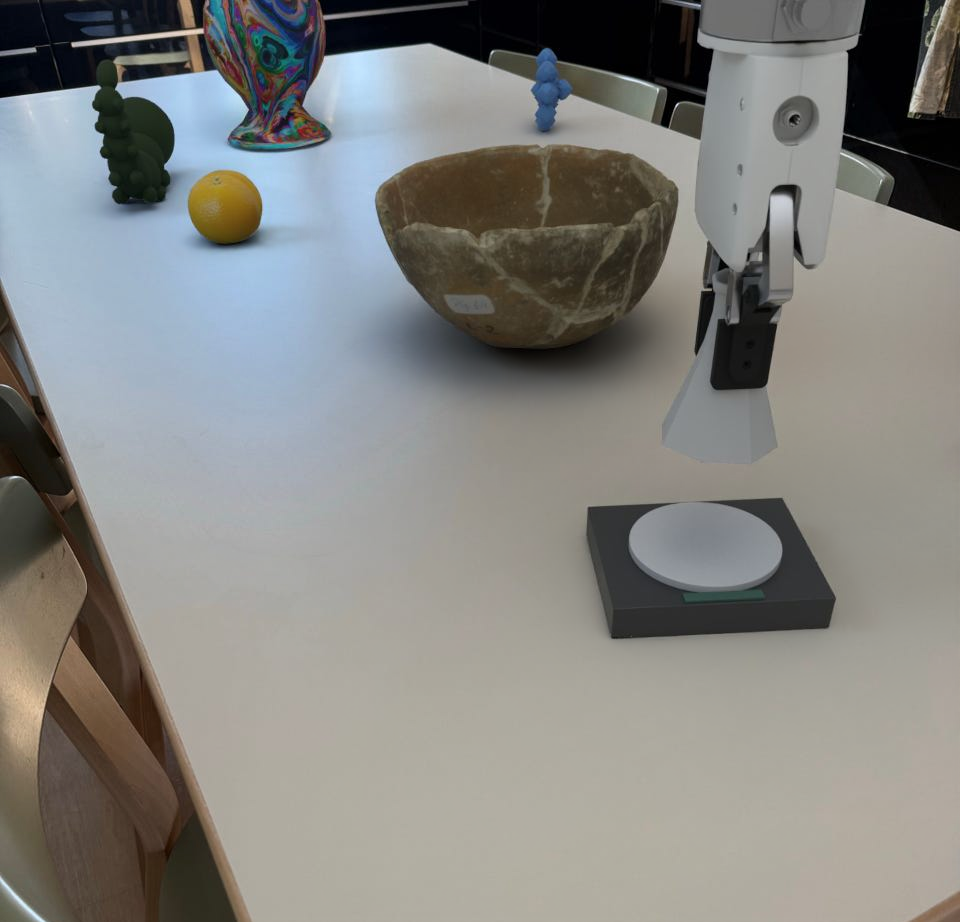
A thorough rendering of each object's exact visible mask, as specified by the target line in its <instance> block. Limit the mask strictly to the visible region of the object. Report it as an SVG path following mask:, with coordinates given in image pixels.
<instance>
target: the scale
mask: <svg viewBox="0 0 960 922" xmlns="http://www.w3.org/2000/svg"><path fill="white" fill-rule="evenodd" d="M586 513H587V514H586V531H585V534H586V539H587V544H588V548H589V553H590V556H591V560H592V565H593V569H594V573H595V576H596V581H597V585H598V589H599V594H600V598H601V601H602V605H603V610H604V615H605V618H606V622H608V623H607V626H608V630H609V635H610V634H611V635H610V638H611V637H618V638H617V639H621V638H620V637H629V638H645V637H644V636H649V637H666V636H667V635H669V636H686V635H706V634H707V635H708V634H725V633H726V634H727V632H728V633H745V632H746V633H747V632H748V633H749V632H767V631H786V630H787V631H788V630H801V629H802V630H803V629H805V630H808V629H825V628H830V624H831V620H832V617H833V612H834V608H835V604H836V601H837V597H836V595H835V592H833V589H832V587H831V585H830V584H829V582H828V580H827V579H826V576H825V575H824V573H823V570H822V569H821V567H820V565H819V563H818V561H817V559H816V558H815V556H814V554H813V552H812V550H811V548H810V546H809V545H808V543H807V541H806V539H805V537H804V535H803V534H802V531H801V530H800V528H799V526H798V524H797V522H796V521H795V519H794V516H793V515H792V513H791V511H790V510H789V507H788V505H787V503H786V502H785V500H784V498H783V497H767V498H766V497H764V498H745V499H727V500H726V499H725V500H724V499H723V500H702V501H683V502H682V501H680V502H660V503H659V502H658V503H638V504H637V503H636V504H615V505H598V506H597V505H596V506H588V507H587V512H586ZM703 633H704V634H703ZM683 634H685V635H683ZM662 635H664V636H662ZM631 636H632V637H631ZM639 636H640V637H639Z"/></svg>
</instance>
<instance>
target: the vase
mask: <svg viewBox="0 0 960 922" xmlns="http://www.w3.org/2000/svg"><path fill="white" fill-rule="evenodd" d="M204 1H205V2H204V4H203V8H202V17H203V18H202V20H203V22H202V23H203V24H202V25H203V27H202V28H203V36H204V39H205V45H206V49H207V52H208V54H209V57H210V59H211V62H212V64H213V66H214V68H215V69H216V71H217V72H218V74H219V75H220V77H222V79H223V80H224V82H225V83H226V84H227V85H228V86H229V87H230V88H231V89H232V90H233V91H234V92H235V93H236V94H237V95H239V97H240V98H241V100H242V101H243V103H244V105H245V106H246V108H247V109H248V110H247V111H246V114H245V116H244V118H243V119H242V121H241V122H240V123H239V124H238V125H237V126H236V127H234V128H233V130H231V131H230V133H229V135H228V137H227V140H226V141H227V142H228V143H229V144H231V145H232V146H235V147H239V148H244V149H252V150H283V149H284V150H285V149H292V148H300V147H305V146H309V145H313V144H316V143H319V142H322V141H324V140H326V139H328V138H329V137H330V136H331V135H332V131H331V130H330V129H329V127H327V126H326V125H325V123H323V122H321V121H320V120H318V119H316V118H315V117H313V116H312V115H311V114H310V113H309V112H308V111H307V110H306V108H305V107H304V103H305V100H306V96H307V93H308V91H309V89H310V88H311V86H312V85H313V83H314V82H315V80H316V78H317V77H318V76H319V73H320V70H321V68H322V65H323V63H324V59H325V53H326V46H327V42H326V37H327V36H326V22H325V19H324V15H323V11H322V7H321V3H320V1H319V0H204Z"/></svg>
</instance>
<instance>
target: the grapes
mask: <svg viewBox="0 0 960 922" xmlns="http://www.w3.org/2000/svg"><path fill="white" fill-rule="evenodd" d="M557 61H558V57H557V56H556V54H555V53H554V51H553V50H552V49H550V48H549V47H545V48H543V49H542V50H541V51H540V53H539V54H538V55H537V57H536V58H535V61H534V62H535V64H536V65H537V67H538V68H537V70H536V71H535V73H536V74H535V75H534V79H536V82H535V83H534V84H533V86H532V87H531V89H530V93H532V95H533V96H534V99H535V101H536V103H537V106H538V108H537V110H536V112H535V114H534V116H535V118H536V119H535V120H534V122H535V124H536V125H537V126H538V128H539V129H540V130H542V131H543V132H547V131H549V130H550V129H551V128H552V127H553V125H554V124H555V123H556V121H557V119H555V117H556V114H557V113H558V112H557V110H556V109H557V107H558V106H559V102H560V101H564V100H567V99H568V97H569V96H570V95H571V93H572V92H573V90H574V89H573V87H572V85H571V83H570V82H569V81H568V80H567V79H565V78H561V79H559V77H560V74H559V71H558V69H557V68H556V66H555V64H556V62H557Z"/></svg>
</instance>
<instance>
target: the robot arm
mask: <svg viewBox="0 0 960 922" xmlns="http://www.w3.org/2000/svg"><path fill="white" fill-rule="evenodd" d="M865 5H866V0H700V10H699V18H698V19H699V21H698V29H697V40H696V41H697V44H699V46H701V47H703V48H705V49H712V50H713V52H712V59H711V65H710V70H709V73H708V84H707V90H706V97H705V103H704V109H703V110H704V111H703V117H702V125H701V132H700V141H699V148H698V156H697V165H696V166H697V167H696V176H695V178H696V179H695V189H694V214H695V218H696V222H697V225H698V226H699V228H700V229H701V231H702V232H703V234H704V235H705V237H706V238H707V242H706V252H705V258H704V263H703V264H704V265H703V270H702V287H703V289H704V290H701V291H700V298H699V306H698V316H697V323H696V324H697V326H696V331H695V332H696V333H695V342H694V350H693V351H694V355H695V357H696V356H697V354H698V352H699V350H700V347H701V345H702V343H703V341H704V339H705V335H706V332H707V329H708V326H709V322H710V319H711V316H712V313H713V308H714V301H715V294H716V293H715V292H714V290H713V281H712V277H713V274H714V273H717V272H719V271H721V270H723V269H725V268H729V276H728V286H727V297H726V307H725V319H718V323H717V330H716V338H715V346H714V353H713V361H712V369H711V376H710V383H711V385H712V387H713V389H715V390H736V389H759V388H763V387H765V386H766V387H767V385H768V383H769V379H770V378H769V377H770V370H771V365H772V360H773V353H774V349H775V341H776V337H777V330H778V325H779V323H780V321H781V317H782V309H783V305H784V304H787V303H788V302H790V301H791V300H792V299H793V296H794V295H793V294H794V280H795V279H794V276H795V275H794V271H795V270H794V267H795V266H794V264H795V262H794V261H795V259H796V260H797V262H798V263H799V264H800V265H801V266H802V267H803V268H804V269H806V270H808V271H809V270H816V269H817V268H819V266H820V265H821V264H822V263H823V262H824V259H825V257H826V252H827V246H828V241H829V234H830V229H831V223H832V215H833V208H834V203H835V194H836V188H837V187H836V186H837V182H838V174H839V167H840V158H841V152H842V146H843V145H842V143H843V135H844V127H845V116H846V106H847V105H846V104H847V94H848V93H847V91H848V90H847V89H848V71H849V62H848V61H849V53H848V52H847V51H849V50H851V49H852V50H853V49H854V48H855V47H856V46H857V45H858V42H859V36H860V31H861V26H862V22H863V21H862V20H863V14H864V9H865ZM760 253H761V260H759V257H760ZM794 258H795V259H794ZM744 277H761V279H760V280H759V281H758V283H757V284H751V285H748V287H747V289H746V290H745V292H744V293H743V284H744ZM710 289H711V290H710ZM742 293H743V295H742Z"/></svg>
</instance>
